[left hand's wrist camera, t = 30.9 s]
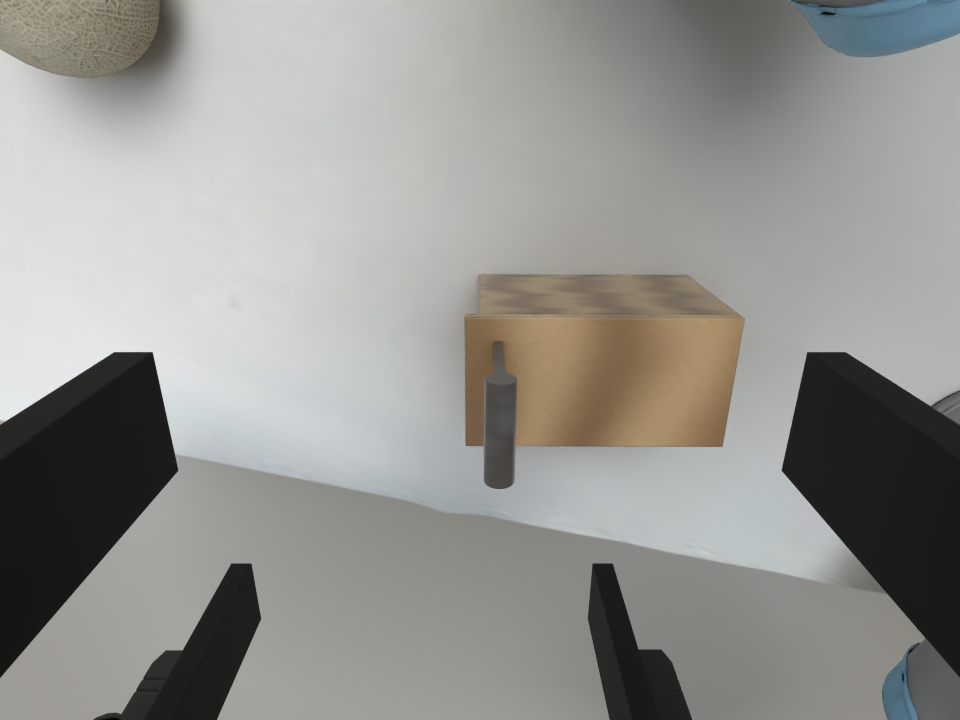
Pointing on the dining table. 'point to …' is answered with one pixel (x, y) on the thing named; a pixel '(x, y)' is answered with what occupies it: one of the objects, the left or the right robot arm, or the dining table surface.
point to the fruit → (78, 34)
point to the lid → (596, 382)
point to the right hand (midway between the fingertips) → (423, 590)
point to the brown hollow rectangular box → (597, 295)
